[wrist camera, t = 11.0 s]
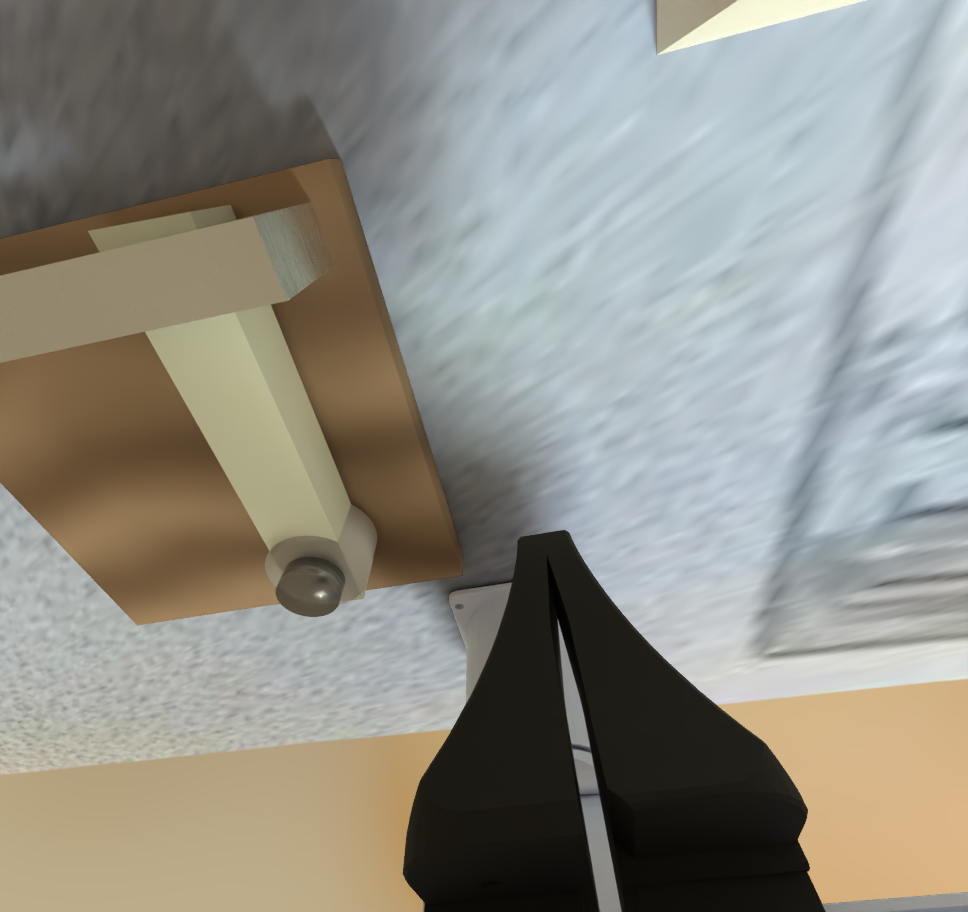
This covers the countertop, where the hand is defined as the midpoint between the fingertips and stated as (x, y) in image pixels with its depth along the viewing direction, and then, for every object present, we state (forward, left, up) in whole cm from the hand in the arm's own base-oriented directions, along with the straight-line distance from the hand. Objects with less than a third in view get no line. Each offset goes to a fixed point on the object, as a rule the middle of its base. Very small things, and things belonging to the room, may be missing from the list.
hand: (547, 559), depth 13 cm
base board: (+1, +14, -9) cm, 17 cm away
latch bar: (+2, +10, -8) cm, 13 cm away
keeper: (+8, +10, -8) cm, 15 cm away
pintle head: (-4, +10, -5) cm, 12 cm away
